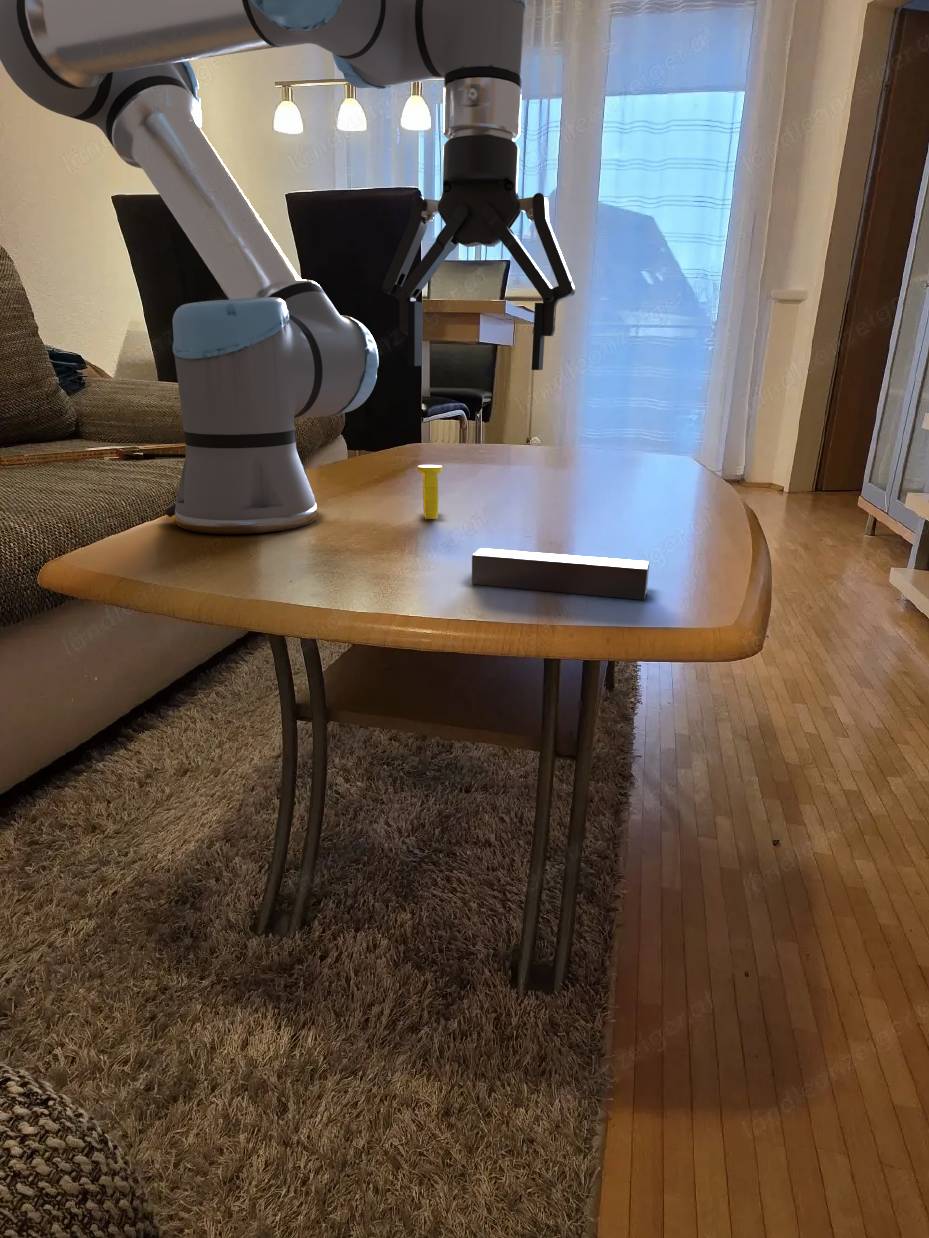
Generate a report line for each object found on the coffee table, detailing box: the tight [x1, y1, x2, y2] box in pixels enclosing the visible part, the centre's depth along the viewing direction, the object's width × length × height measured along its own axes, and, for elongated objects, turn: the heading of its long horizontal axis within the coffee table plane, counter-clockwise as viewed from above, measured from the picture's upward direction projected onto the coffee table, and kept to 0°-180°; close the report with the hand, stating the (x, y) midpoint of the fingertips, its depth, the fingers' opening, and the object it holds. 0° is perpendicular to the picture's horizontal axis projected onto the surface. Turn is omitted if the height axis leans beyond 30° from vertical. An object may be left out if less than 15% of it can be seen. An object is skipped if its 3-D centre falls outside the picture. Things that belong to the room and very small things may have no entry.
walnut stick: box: [471, 547, 650, 601], centre depth 61 cm, size 14×2×2 cm, turn 73°
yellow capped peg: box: [417, 464, 443, 520], centre depth 87 cm, size 6×3×6 cm, turn 6°
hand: (474, 368), depth 82 cm, fingers open, 13 cm apart
